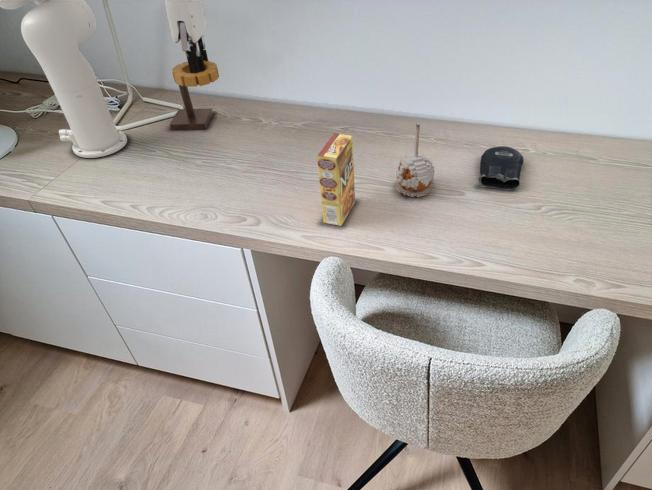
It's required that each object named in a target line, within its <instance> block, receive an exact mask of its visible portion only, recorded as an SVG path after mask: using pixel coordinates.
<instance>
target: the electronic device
mask: <svg viewBox="0 0 652 490" xmlns="http://www.w3.org/2000/svg"><path fill="white" fill-rule="evenodd" d="M523 164H524V156H523V154H522V153H521V152H520V151H519V150H517V149H515V148H514V147H510V146H507V145H502V146H501V145H500V146H493V147H489V148H488V149H485V151H484V152H483V153H482V155H481V157H480V163H479V176H478V178H477V181H478V183H479V187H480V188H490V189H491V188H492V189H499V190H503V191H504V190H505V191H511V190H514V189H516V188H518V187H520V177H521V170H522V166H523Z"/></svg>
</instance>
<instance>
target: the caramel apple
mask: <svg viewBox="0 0 652 490" xmlns="http://www.w3.org/2000/svg"><path fill="white" fill-rule="evenodd" d="M420 129H421V124H420V122H417V123H416V124H415V134H414V135H415V137H414V150H413V151H414V152H413V153H409V154H406V155H405V156H404V157H403V158H401V159H400V160H399V162H398V166H397V170H396V171H395V178H396V182H395V189H396V191H397V192H398V193H399V194H403V195H404V196H407V197H411V198H413V197H417V198H420V197H423V196H424V197H425V196H427V195H428V193H429V194H430V193H431V191H432V190H433V188H434V184H433V180H434V179H435V166H434V165H433V162H432V161H431V160H430V159H429V158H428V157H426V156H425V154H421V153H420V152H419V146H420V145H419V144H420V132H421V131H420Z"/></svg>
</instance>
